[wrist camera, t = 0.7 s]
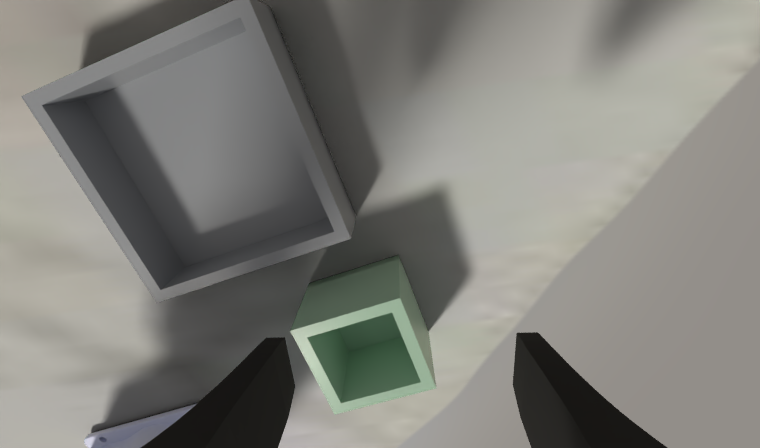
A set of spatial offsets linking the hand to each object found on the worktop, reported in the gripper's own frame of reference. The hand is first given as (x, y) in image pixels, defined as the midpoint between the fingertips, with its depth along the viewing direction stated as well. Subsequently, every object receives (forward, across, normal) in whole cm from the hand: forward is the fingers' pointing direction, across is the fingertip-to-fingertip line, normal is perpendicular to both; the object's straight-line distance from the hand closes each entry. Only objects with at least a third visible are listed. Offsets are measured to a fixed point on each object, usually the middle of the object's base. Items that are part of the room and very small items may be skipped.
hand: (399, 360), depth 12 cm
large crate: (+10, +9, -5) cm, 14 cm away
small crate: (+10, +2, +5) cm, 11 cm away
